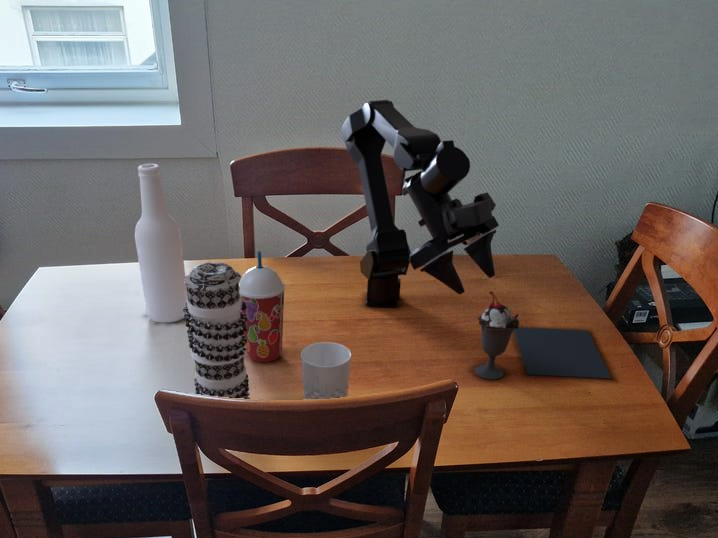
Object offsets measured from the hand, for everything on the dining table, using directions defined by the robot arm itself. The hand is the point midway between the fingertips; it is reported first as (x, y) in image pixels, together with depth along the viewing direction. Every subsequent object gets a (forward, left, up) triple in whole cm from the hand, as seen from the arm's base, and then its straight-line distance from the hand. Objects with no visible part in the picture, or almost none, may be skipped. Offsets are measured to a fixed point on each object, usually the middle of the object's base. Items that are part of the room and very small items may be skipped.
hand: (477, 284), depth 113 cm
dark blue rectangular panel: (+17, +3, -14) cm, 22 cm away
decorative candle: (-40, -24, -14) cm, 49 cm away
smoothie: (-37, -4, -14) cm, 40 cm away
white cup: (-24, -20, -14) cm, 35 cm away
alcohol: (-60, +11, -14) cm, 63 cm away
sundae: (+3, -6, -14) cm, 16 cm away
